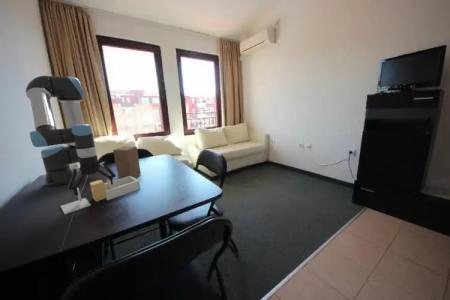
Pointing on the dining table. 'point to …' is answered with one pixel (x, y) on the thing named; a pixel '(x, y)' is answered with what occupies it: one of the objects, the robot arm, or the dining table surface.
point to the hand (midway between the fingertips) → (96, 195)
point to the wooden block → (127, 162)
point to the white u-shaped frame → (121, 187)
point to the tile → (75, 206)
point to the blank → (98, 190)
